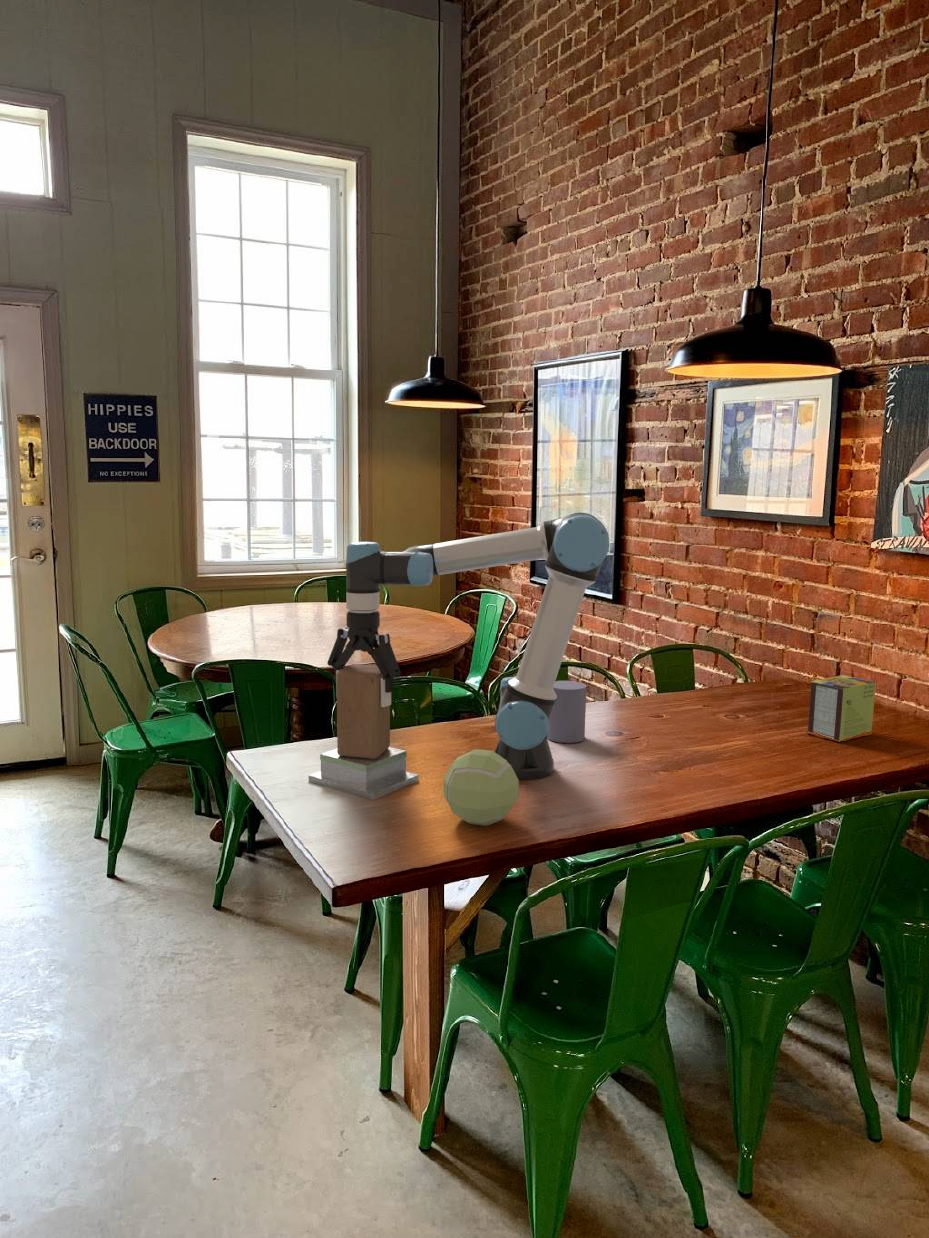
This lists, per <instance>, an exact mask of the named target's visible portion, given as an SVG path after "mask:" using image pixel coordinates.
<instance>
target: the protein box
mask: <svg viewBox="0 0 929 1238" xmlns="http://www.w3.org/2000/svg"><path fill="white" fill-rule="evenodd" d="M876 684H877V683H876V681H873V680H868V679H865V678H859V677H854V676H849V675H844V674H840V675H838V676H831V677H827V678H821V679H817V680H811V681H810V693H809V694H810V695H809V707H808V721H807V724H808V725H807V732H808V731H809V732H814V733H817V734H820V735H823V736H826V737H829V738H832V739H836V740H839V741H841V740H843V739H846V738H851V737H853V736H856V735H860V734H862V733H865V732H871V731H872V732H873V730H872V728H873V722H874V719H873V718H874V708H875V697H876V687H877V685H876ZM872 732H871V733H872Z"/></svg>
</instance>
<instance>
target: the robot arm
mask: <svg viewBox="0 0 929 1238" xmlns="http://www.w3.org/2000/svg"><path fill="white" fill-rule="evenodd" d="M609 549H610V537H609V532H608V530H607V528H606V526H605V525H604V524H603V522H602V521H601V520H600V519H598V518H597V517H596V516H594V515H592V514H590V513H587V512H573V513H571V514H569V515H568V514H567V515H565V516H563V517H557V518H556V519H552V520H546V521H545V520H544V521H542V522H540V524H539V526H536V527H529V528H523V529H517V530H511V531H503V532H499V533H498V532H497V533H492V534H485V535H480V536H473V537H467V538H463V539H462V538H461V539H456V540H450V541H444V542H438V543H434V544H433V543H432V544H425V545H413V546H409V547H407V548H406V549H405V550H404V551H383V550H381V547H380V544H379V543H378V542H375V541H352V542H350V543H348V544H347V546H346V554H345V556H346V557H345V558H346V561H345V571H346V572H345V574H346V575H345V577H346V578H345V579H346V593H345V594H346V597H345V598H346V601H345V602H346V605H345V608H346V609H347V611H346V618H345V619H346V627H342V628H338V629H337V631H336V639H335V641H334V645H333V647H332V650H331V653H330V655H329V657H328V660H327V665H328V667H329V666H331V667H332V669H333V670H334V682H335V683H336V686H335V687H336V690H337V673H338V672H339V671H340V670H342V669H344V668H346V667H347V666H346V665H347V663H348V661H350V659H351V658H352V656H353V655H354V654H355V652H357V651H361V652H363V653H365V652H366V653H367V654H368V655H369V656H370V657H371V658H372V659H373V661H374V663H375V665H377V667H378V668H379V670H380V672H381V673H382V675H383V678H381V707H386V706H389V705H390V706H391V705H392V693H393V692H394V678H396V677H399V676H401V674H402V672H401V670H400V666H399V664H398V661H397V658H396V656H395V652H394V650H393V647H392V645H391V639H390V638H391V637H390V634H389V633H383V634H380V633H379V631H378V629H379V628H380V626H381V625H380V623H381V621H380V618H381V617H380V616H381V615H380V614H381V613H380V611H379V609H380V601H381V600H380V585H381V586H388V585H389V586H407V587H409V586H410V587H411V586H412V587H424V586H425V587H427V586H429V585H431V584H432V582H433V579H434V577H436V576H439V575H440V576H442V575H446V574H448V575H449V574H454V573H455V574H456V573H459V572H467V571H474V570H479V569H481V570H482V569H486V568H487V569H488V568H494V567H499V566H506V565H513V564H518V563H525V562H526V563H527V562H532V561H537V560H539V561H540V560H545V566H544V568H545V570H546V572H547V574H548V579H547V581H546V585H545V586H544V591H543V594H542V597H541V600H540V603H539V606H538V609H537V612H536V615H535V618H534V621H533V624H532V628H531V631H530V633H529V637H528V639H527V643H526V646H525V650H524V652H523V655H522V659H521V661H520V665H519V667H518V670H517V674H516V675H515V676H507V677H503V678H502V679H501V681H500V687H499V691H500V692H499V693H500V695H499V696H500V697H499V698H500V700H499V706H498V710H497V713H496V716H495V719H494V723H495V724H494V725H495V729H496V732H497V736H498V742H497V745H496V747H495V750H494V752H495V753H496V754H498V755H499V756H501V757H502V758H504V759H505V760H507V762H508V763H509V764H510V765H511V766H512V768H513V770H514V772H515V774H516V776H517V778H518V780H535V779H542V778H546V777H549V776H550V775H552V774H553V773H554V769H555V768H554V767H555V762H554V761H555V760H554V757H553V755H552V752H551V748H550V745H549V741H548V740H549V739H548V738H547V733H548V729H549V728H548V726H549V720H550V717H551V713H552V710H553V707H554V704H555V701H556V698H557V695H556V693H555V691H554V689H553V686H554V683H555V681H557V676H558V674H559V672H560V671H559V670H560V668H561V665H562V661H563V658H564V656H565V652H566V649H567V646H568V643H569V640H570V638H571V635H572V633H573V629H574V625H575V622H576V620H577V617H578V614H579V610H580V607H581V604H582V601H583V598H584V595H585V593H586V590H587V588H588V587H589V586H592V585H593V584H595V583H596V582H597V578H598V575H599V573H600V570H601V567H602V563H603V561H605V558H606V557H607V555H608V553H609ZM348 639H349V640H348Z"/></svg>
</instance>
